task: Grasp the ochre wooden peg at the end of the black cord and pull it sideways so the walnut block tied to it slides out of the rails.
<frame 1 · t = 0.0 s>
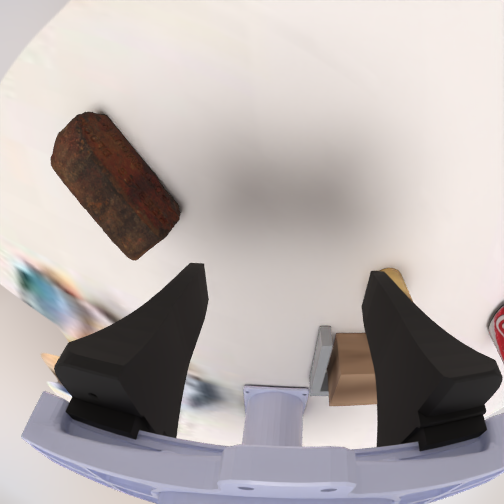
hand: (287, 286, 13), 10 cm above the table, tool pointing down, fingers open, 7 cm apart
rails: (362, 354, 30), on the table
brick: (128, 170, 22), on the table
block: (363, 351, 30), on the table
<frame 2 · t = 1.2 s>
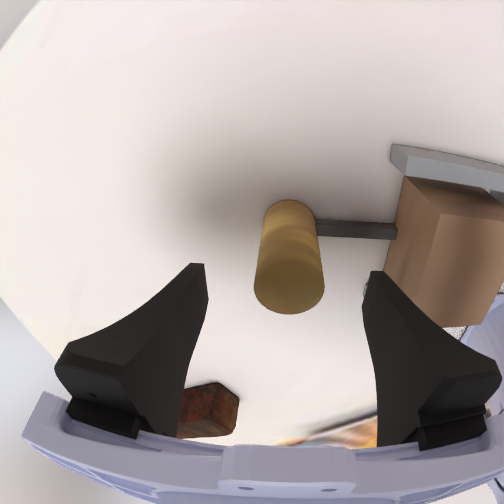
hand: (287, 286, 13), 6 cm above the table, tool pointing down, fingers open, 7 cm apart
rails: (440, 233, 17), on the table
brick: (193, 395, 31), on the table
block: (433, 232, 17), on the table
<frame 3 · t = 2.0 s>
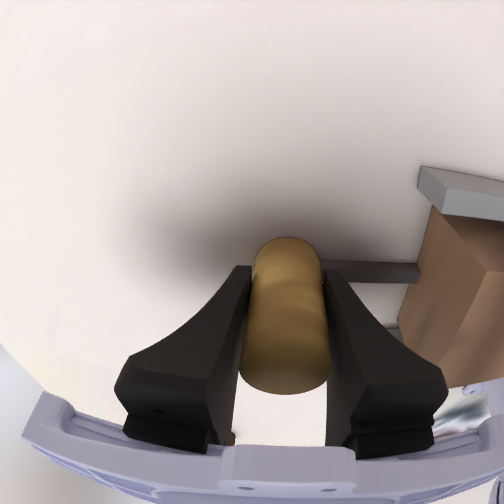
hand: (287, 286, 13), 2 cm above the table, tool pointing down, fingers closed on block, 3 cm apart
rails: (467, 271, 13), on the table
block: (460, 270, 13), on the table, touching gripper
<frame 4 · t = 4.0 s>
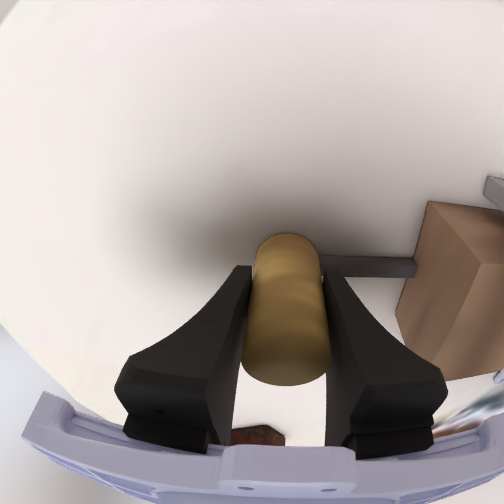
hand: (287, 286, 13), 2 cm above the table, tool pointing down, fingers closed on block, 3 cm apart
brick: (233, 434, 28), on the table
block: (456, 265, 14), on the table, touching gripper
when the fingers open (2 cm above the table, at t = 4.5 s): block stays where it is, on the table.
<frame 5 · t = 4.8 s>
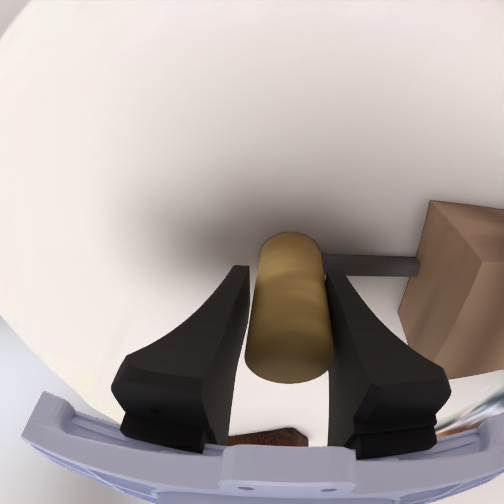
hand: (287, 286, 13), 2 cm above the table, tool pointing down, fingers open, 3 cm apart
brick: (255, 437, 28), on the table
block: (459, 264, 14), on the table, touching gripper
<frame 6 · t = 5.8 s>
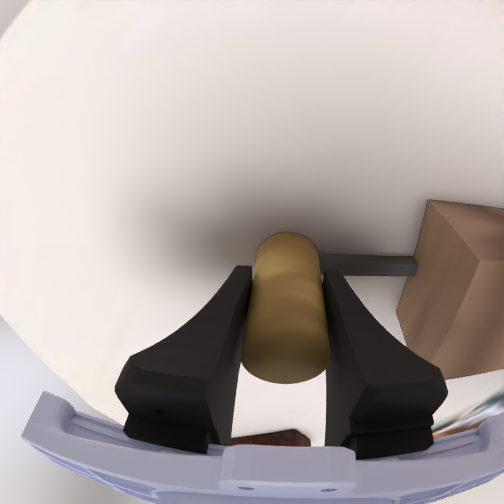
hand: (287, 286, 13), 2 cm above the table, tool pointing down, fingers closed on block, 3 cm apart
brick: (258, 438, 28), on the table
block: (457, 263, 14), on the table, touching gripper
when the fingers open (2 cm above the table, at t = 5.8 s): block stays where it is, on the table.
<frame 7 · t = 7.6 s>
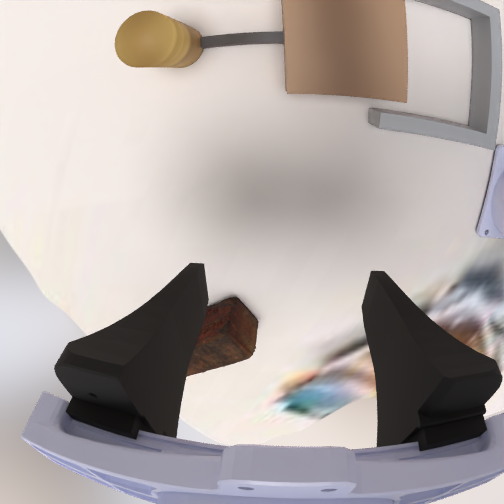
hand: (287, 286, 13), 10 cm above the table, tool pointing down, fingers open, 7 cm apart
rails: (432, 59, 14), on the table
brick: (204, 323, 29), on the table
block: (332, 40, 15), on the table
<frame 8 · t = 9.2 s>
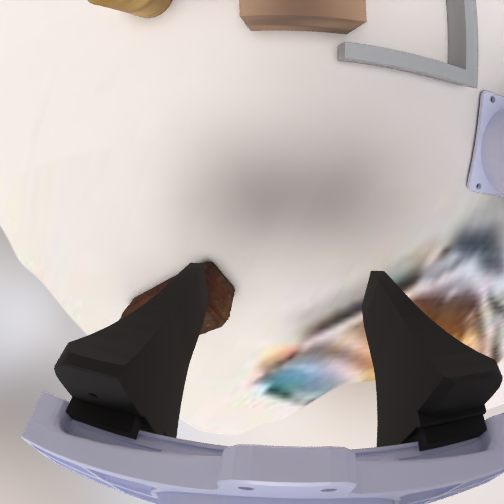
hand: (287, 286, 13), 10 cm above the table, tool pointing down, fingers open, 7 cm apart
rails: (402, 1, 12), on the table
brick: (179, 292, 28), on the table
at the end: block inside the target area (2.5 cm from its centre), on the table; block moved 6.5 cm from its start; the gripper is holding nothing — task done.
